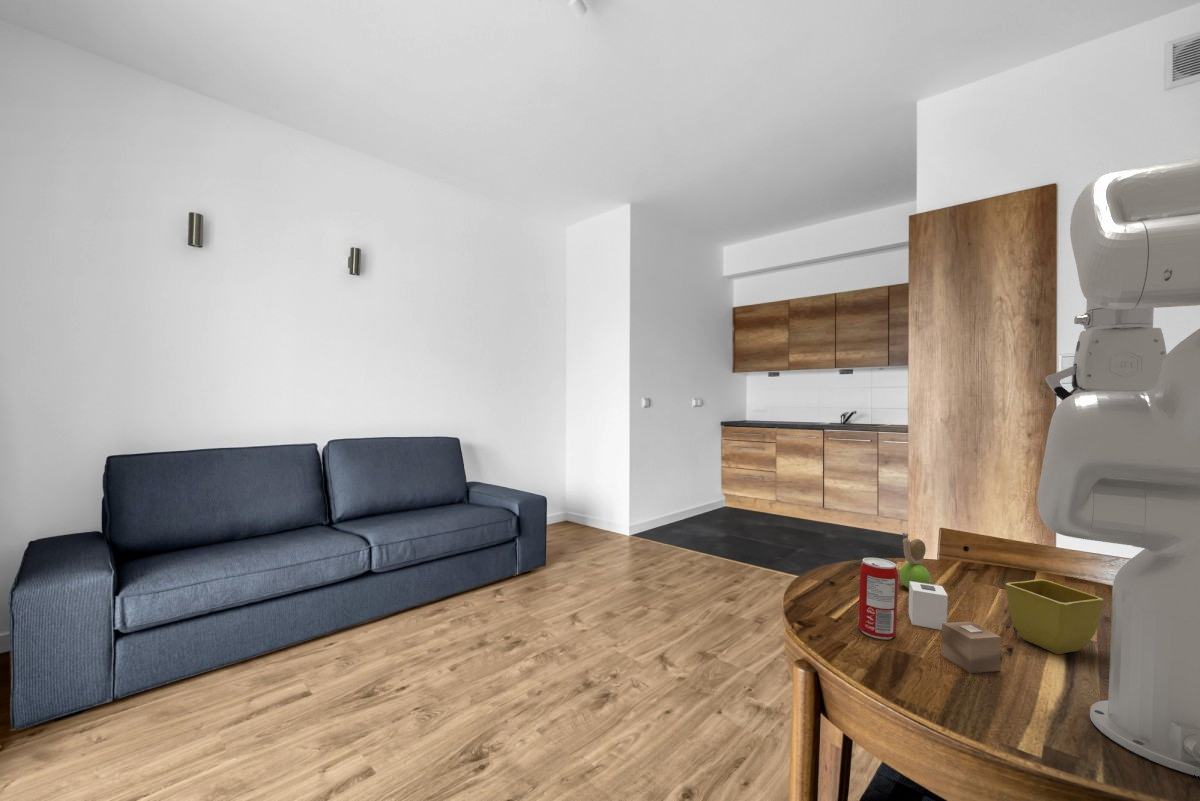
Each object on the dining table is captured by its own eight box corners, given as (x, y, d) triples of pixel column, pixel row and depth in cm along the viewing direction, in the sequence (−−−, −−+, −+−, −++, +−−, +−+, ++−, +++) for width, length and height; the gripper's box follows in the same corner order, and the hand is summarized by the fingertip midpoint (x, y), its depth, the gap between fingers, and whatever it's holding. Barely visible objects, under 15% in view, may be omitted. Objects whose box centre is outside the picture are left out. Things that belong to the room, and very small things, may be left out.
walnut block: (999, 671, 73) (1001, 635, 73) (970, 673, 73) (971, 637, 72) (969, 653, 78) (970, 620, 78) (940, 655, 77) (942, 621, 77)
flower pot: (1062, 663, 76) (1064, 603, 76) (1001, 636, 84) (1003, 582, 84) (1103, 656, 78) (1105, 598, 78) (1040, 631, 87) (1042, 578, 87)
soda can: (876, 623, 88) (878, 554, 88) (903, 638, 83) (906, 564, 83) (850, 627, 86) (852, 556, 86) (877, 642, 81) (879, 567, 81)
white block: (946, 631, 86) (947, 594, 86) (912, 624, 88) (913, 589, 88) (941, 619, 90) (942, 585, 90) (908, 613, 93) (909, 580, 92)
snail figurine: (889, 587, 105) (891, 529, 105) (910, 583, 108) (911, 527, 108) (915, 597, 100) (917, 536, 100) (936, 592, 103) (938, 533, 103)
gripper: (1055, 320, 81) (1051, 427, 81) (1211, 315, 73) (1207, 434, 73) (1040, 327, 88) (1037, 426, 88) (1182, 323, 80) (1179, 432, 80)
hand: (1114, 429), depth 81 cm, fingers open, 9 cm apart
